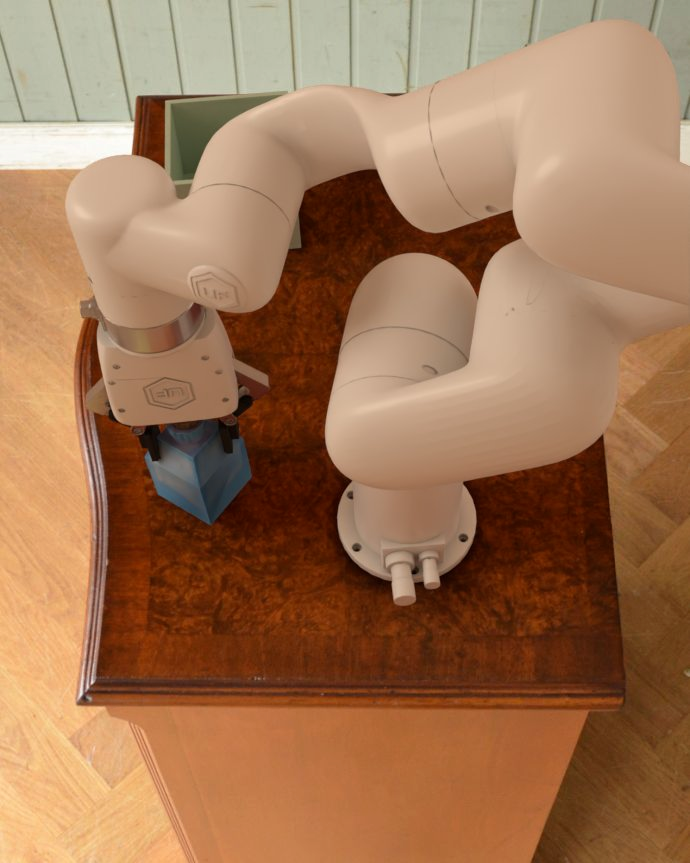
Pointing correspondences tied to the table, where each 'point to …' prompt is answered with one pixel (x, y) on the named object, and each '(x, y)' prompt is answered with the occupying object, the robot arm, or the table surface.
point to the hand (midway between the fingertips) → (192, 442)
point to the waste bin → (204, 135)
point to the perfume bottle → (198, 468)
